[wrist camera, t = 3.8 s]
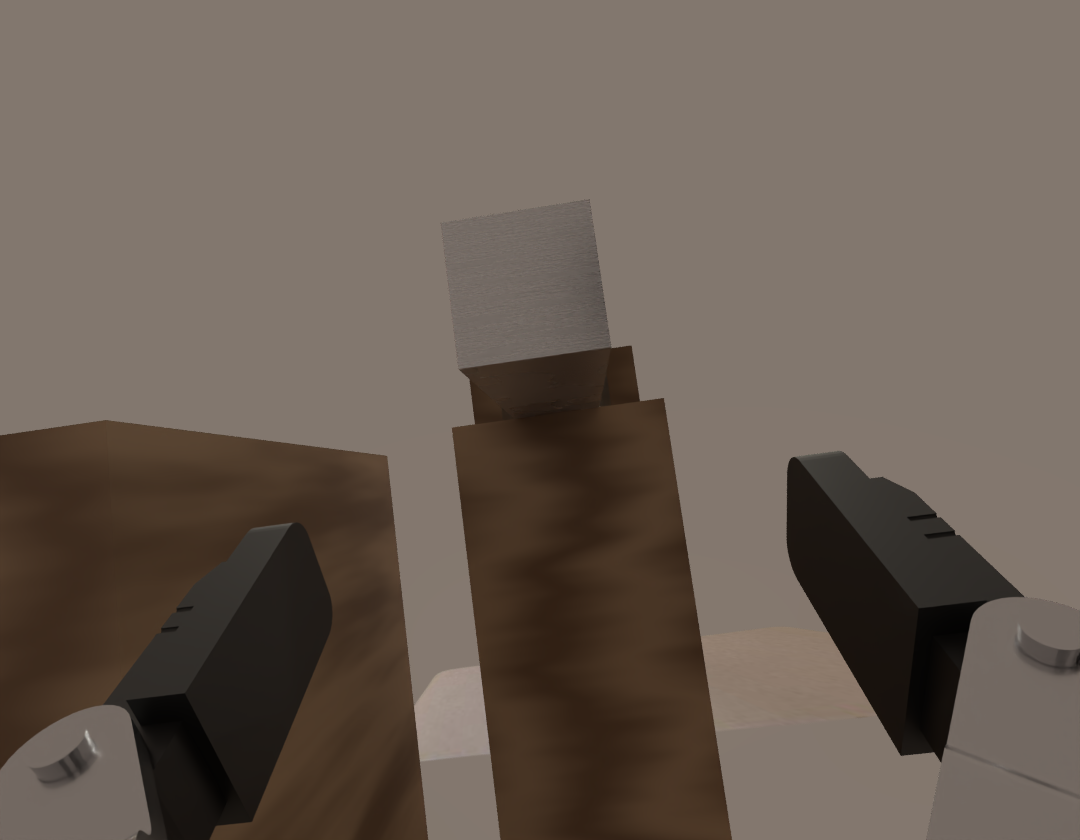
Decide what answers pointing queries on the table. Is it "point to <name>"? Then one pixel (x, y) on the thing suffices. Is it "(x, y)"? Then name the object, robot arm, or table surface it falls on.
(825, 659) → the table surface
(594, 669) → the stand
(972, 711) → the robot arm
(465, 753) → the table surface
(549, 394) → the grey metal bar
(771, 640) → the table surface
